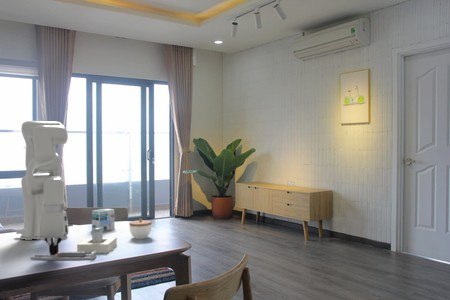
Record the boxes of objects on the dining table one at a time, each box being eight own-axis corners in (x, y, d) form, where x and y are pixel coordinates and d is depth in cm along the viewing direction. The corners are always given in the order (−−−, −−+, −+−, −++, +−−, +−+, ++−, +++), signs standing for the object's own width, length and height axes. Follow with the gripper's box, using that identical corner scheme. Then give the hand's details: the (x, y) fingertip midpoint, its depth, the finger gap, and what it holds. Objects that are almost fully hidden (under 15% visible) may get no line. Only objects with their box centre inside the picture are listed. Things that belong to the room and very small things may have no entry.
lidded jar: (124, 239, 195) (124, 219, 195) (137, 234, 205) (137, 216, 205) (143, 241, 191) (143, 221, 191) (155, 236, 201) (155, 217, 201)
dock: (77, 252, 170) (77, 244, 170) (88, 245, 183) (88, 237, 183) (107, 252, 170) (107, 244, 170) (116, 245, 182) (116, 237, 182)
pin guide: (30, 259, 159) (30, 253, 159) (35, 257, 163) (35, 251, 163) (93, 259, 159) (92, 253, 159) (96, 256, 163) (96, 250, 163)
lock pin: (56, 258, 160) (56, 252, 160) (58, 257, 162) (58, 251, 162) (84, 258, 160) (84, 252, 160) (85, 257, 162) (85, 251, 162)
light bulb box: (99, 231, 213) (99, 211, 213) (91, 230, 216) (91, 210, 216) (115, 228, 222) (115, 208, 222) (106, 227, 226) (106, 208, 226)
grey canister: (90, 250, 174) (90, 229, 174) (94, 247, 178) (94, 227, 178) (100, 250, 174) (100, 229, 174) (104, 247, 178) (103, 227, 178)
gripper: (75, 207, 165) (76, 252, 165) (39, 207, 165) (39, 252, 165) (68, 210, 157) (68, 257, 157) (30, 210, 158) (30, 257, 158)
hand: (53, 254), depth 161 cm, fingers closed
